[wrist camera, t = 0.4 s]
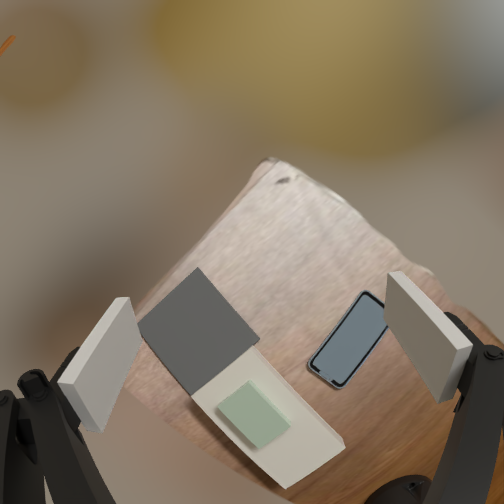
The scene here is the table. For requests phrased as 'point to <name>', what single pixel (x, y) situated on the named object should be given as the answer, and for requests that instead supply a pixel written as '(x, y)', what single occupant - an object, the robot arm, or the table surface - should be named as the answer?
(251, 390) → the tile
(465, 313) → the table surface
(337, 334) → the smartphone
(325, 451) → the board
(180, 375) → the mat
